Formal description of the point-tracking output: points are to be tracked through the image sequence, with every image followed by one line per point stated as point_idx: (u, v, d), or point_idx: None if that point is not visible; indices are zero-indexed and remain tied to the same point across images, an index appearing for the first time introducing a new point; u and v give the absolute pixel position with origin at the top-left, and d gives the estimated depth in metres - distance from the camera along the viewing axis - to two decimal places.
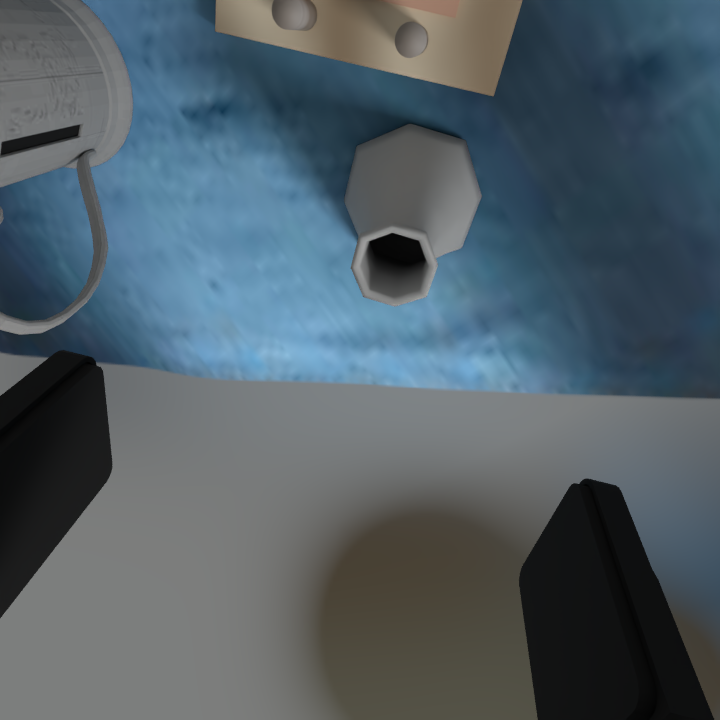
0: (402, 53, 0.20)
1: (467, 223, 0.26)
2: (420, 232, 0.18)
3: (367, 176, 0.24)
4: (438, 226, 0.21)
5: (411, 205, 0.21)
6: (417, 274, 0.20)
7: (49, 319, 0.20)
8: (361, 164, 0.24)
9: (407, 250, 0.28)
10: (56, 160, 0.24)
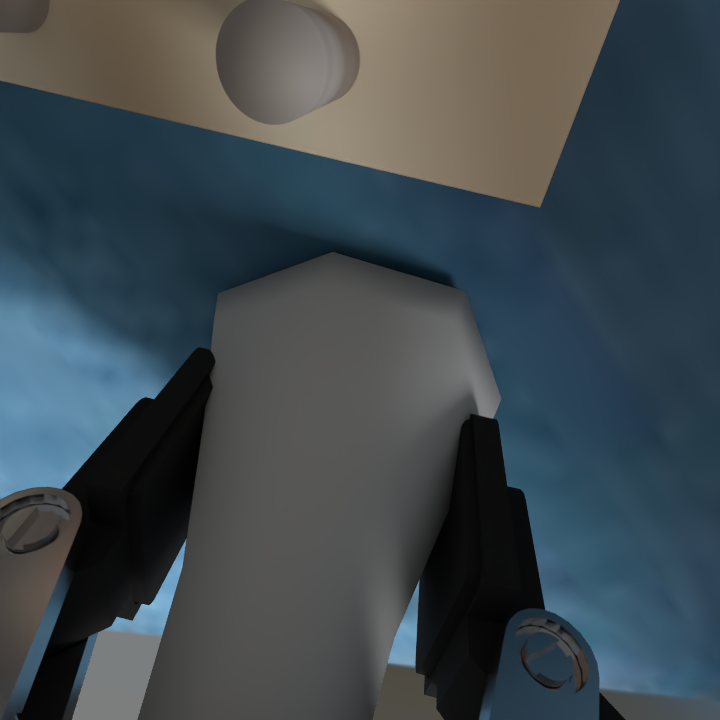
0: (249, 109, 0.06)
1: None
2: None
3: (212, 408, 0.09)
4: (387, 627, 0.07)
5: (293, 604, 0.06)
6: None
7: None
8: None
9: None
10: None
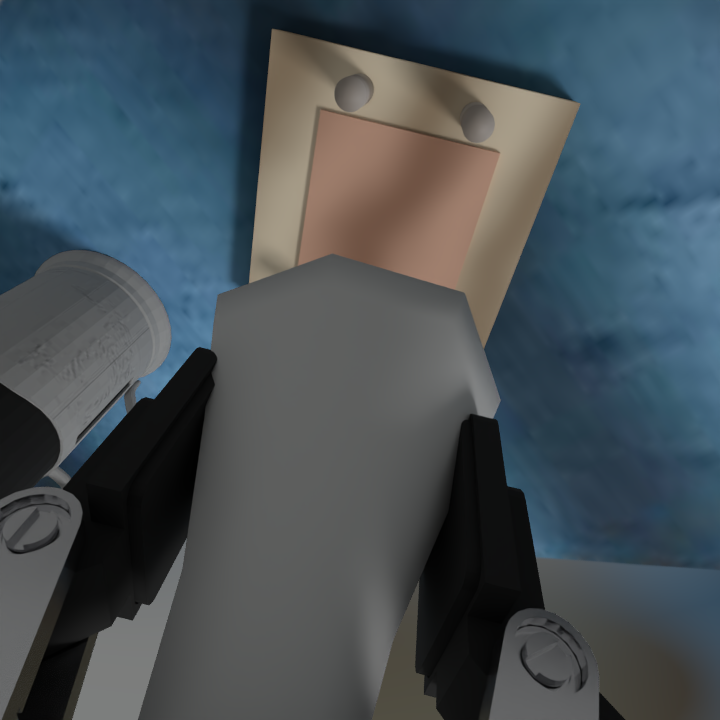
0: None
1: None
2: None
3: (212, 410, 0.09)
4: (386, 628, 0.07)
5: (293, 606, 0.06)
6: None
7: None
8: None
9: None
10: None
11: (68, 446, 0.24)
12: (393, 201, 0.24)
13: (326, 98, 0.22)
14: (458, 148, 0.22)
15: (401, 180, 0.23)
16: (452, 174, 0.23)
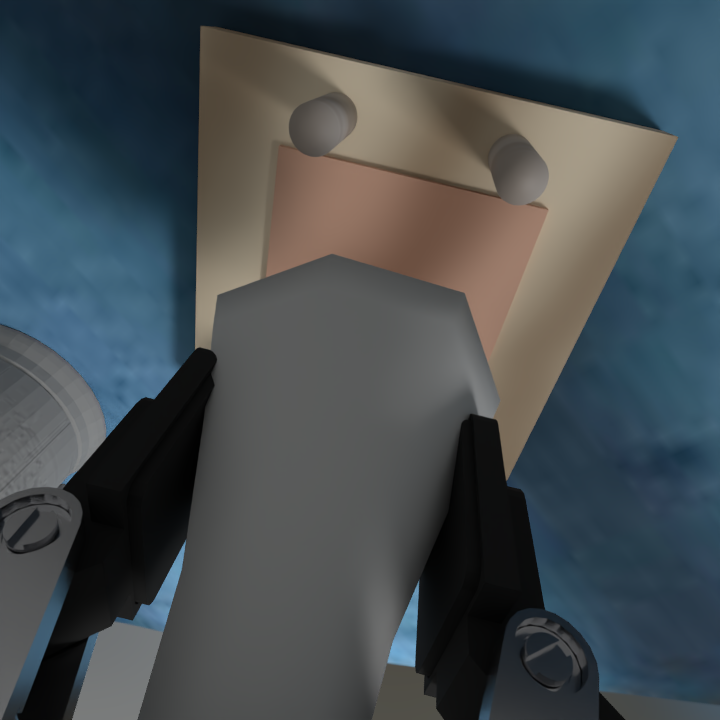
0: None
1: None
2: None
3: (211, 411, 0.09)
4: (385, 628, 0.07)
5: (292, 606, 0.06)
6: None
7: None
8: None
9: None
10: None
11: None
12: None
13: (287, 129, 0.15)
14: (485, 202, 0.15)
15: (400, 246, 0.16)
16: (475, 239, 0.15)
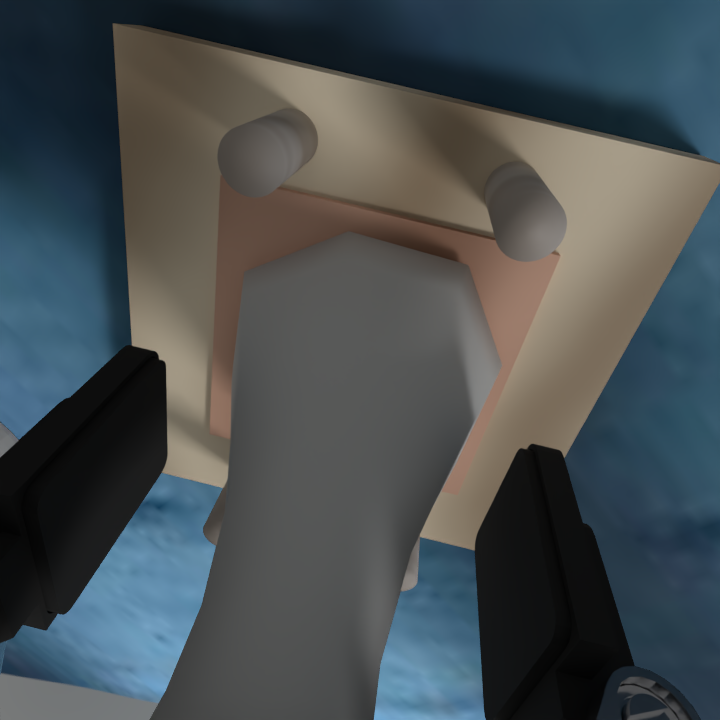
0: None
1: (474, 424, 0.13)
2: None
3: (245, 368, 0.10)
4: (405, 542, 0.08)
5: (326, 515, 0.07)
6: None
7: None
8: (241, 327, 0.11)
9: None
10: None
11: None
12: None
13: None
14: (480, 246, 0.12)
15: None
16: None
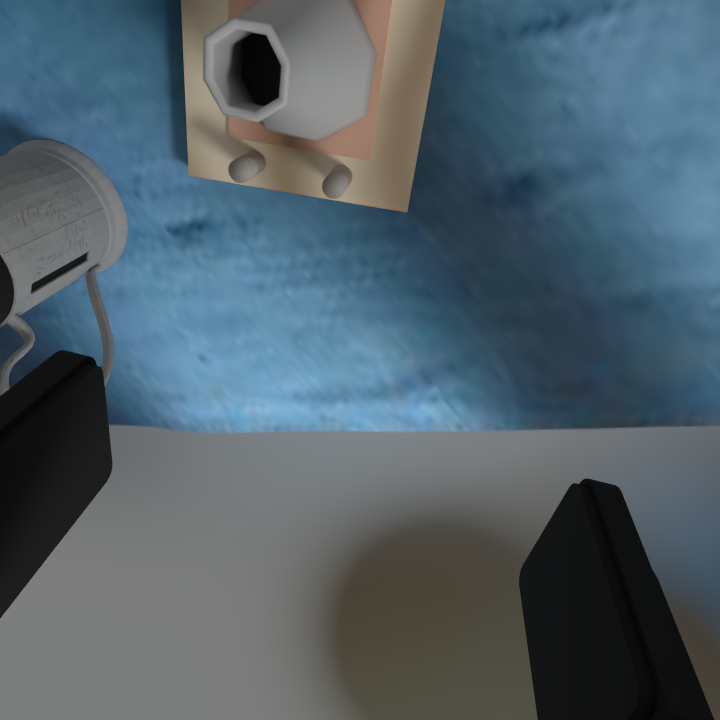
0: (328, 196, 0.27)
1: (363, 81, 0.25)
2: (265, 23, 0.17)
3: None
4: (310, 55, 0.20)
5: (276, 28, 0.20)
6: None
7: None
8: None
9: None
10: (70, 280, 0.31)
11: (22, 289, 0.26)
12: None
13: None
14: None
15: None
16: None
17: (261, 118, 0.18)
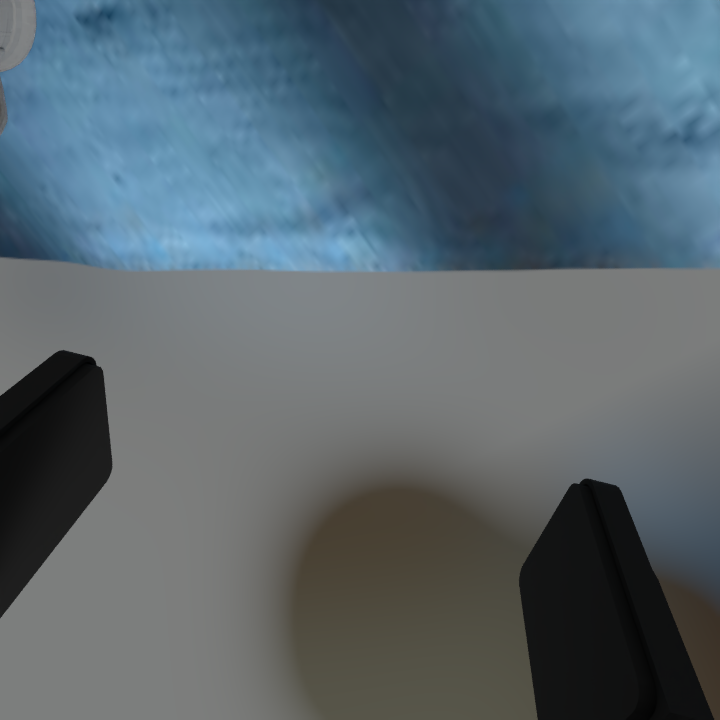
0: None
1: None
2: None
3: None
4: None
5: None
6: None
7: None
8: None
9: None
10: None
11: None
12: None
13: None
14: None
15: None
16: None
17: None
